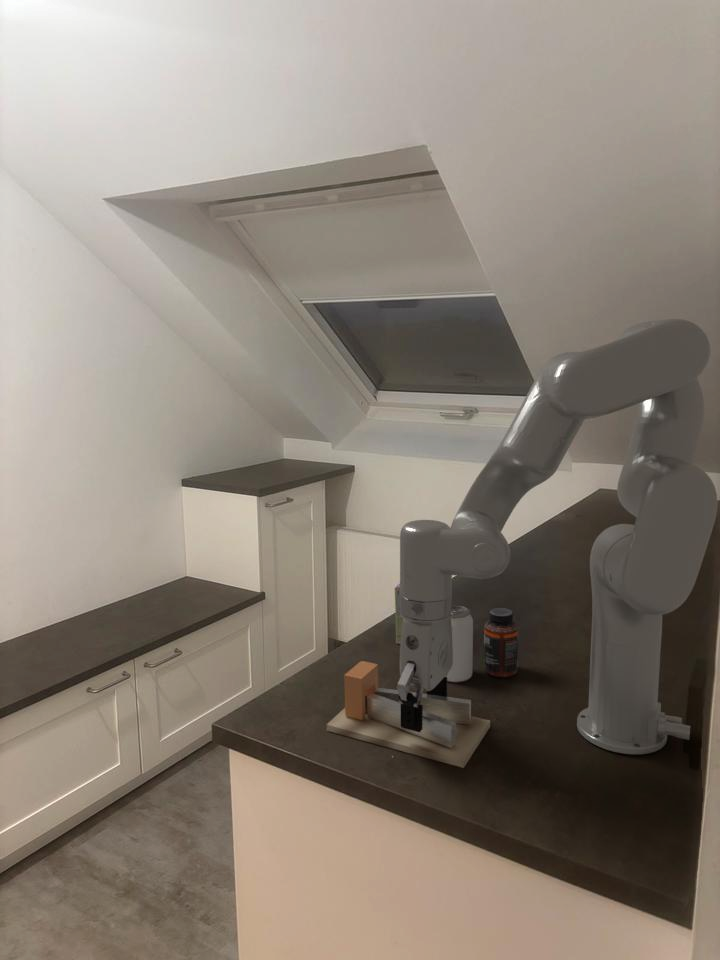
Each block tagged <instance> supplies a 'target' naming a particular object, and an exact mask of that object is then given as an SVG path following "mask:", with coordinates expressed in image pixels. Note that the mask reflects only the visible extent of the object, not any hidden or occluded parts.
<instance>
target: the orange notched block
mask: <svg viewBox="0 0 720 960" xmlns="http://www.w3.org/2000/svg"><path fill="white" fill-rule="evenodd" d="M343 677H344V678H343V679H344V680H343V681H344V682H343V683H344V708H345V716H348V717H352V718H355V719H359V720H363V719H364V718H365V696H368V695H369V694H371V693H373V694H374V690H375V688H376V687H377V688H379V664H377V663H373V662H369V661H363V660H361V661H359V662H358V663H356V664H355V666H353V667H352V668H351V669H350V670H348V671H347V672H346V673H345V674H344V676H343Z"/></svg>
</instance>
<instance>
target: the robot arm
mask: <svg viewBox="0 0 720 960" xmlns="http://www.w3.org/2000/svg"><path fill="white" fill-rule="evenodd" d="M710 356H711V344H710V341H709V339H708V336H707V334H706V333H705V331H704V330H703V329H702V328H701V327H700V326H699V325H697V324H696V323H693V321H690V320H686V319H682V318H681V319H680V318H667V319H660V320H651V321H643V322H639V323H636V324H633V325H631V326H629V327H628V328H626V329H624V330H623V331H622V332H621V333H620V334H619V336H618V337H617V338H616V340H614V341H611V342H608V343H606V344H602V345H600V346H596V347H594V348H590V349H586V350H583V351H568V352H562V353H557V354H556V355H554V356H552V357H551V358H550V359H548V360H547V361H546V362H545V363H544V365H543V366H542V367H541V368H540V370H539V373H538V374H537V375H536V377H535V379H534V381H533V383H532V384H531V386H530V388H529V391H528V392H527V394H526V396H525V397H524V400H523V401H522V403H521V405H520V407H519V409H518V411H517V413H516V414H515V416H514V417H513V418H514V419H513V420H512V422H511V424H510V426H509V427H508V429H507V431H506V433H505V434H504V437H503V438H502V440H501V442H500V444H499V445H498V447H497V449H495V451H494V453H493V454H492V455H491V456H490V458H489V460H488V461H487V463H486V464H485V466H484V467H483V468H482V469H481V471H480V473H479V474H478V475H477V477H476V478H475V480H474V481H473V483H472V485H471V486H470V487H469V490H468V492H467V493H466V495H465V496H464V498H463V501H462V503H461V505H460V507H459V508H458V510H457V512H456V514H455V516H454V518H453V520H452V522H451V524H450V525H448V524H447V523H445V522H442V521H439V520H433V519H416V520H412V521H409V522H407V523H405V524H404V525H403V526H402V527H401V529H400V534H399V584H400V616H401V617H402V618H403V623H402V632H401V644H399V645H400V646H399V647H400V649H399V680H398V682H397V684H396V690H397V691H398V698H399V703H400V704H401V727H402V728H405V729H409V730H413V731H416V732H421V730H422V718H423V705H420V702H421V698H422V694H424V690H426V694H430V695H437V696H445V697H448V682H447V677H445V676H447V674H448V672H449V671H450V669H451V668H452V665H453V648H452V626H451V606H452V603H453V602H452V598H453V597H452V595H453V593H452V592H453V591H452V590H453V589H452V588H453V586H452V585H453V576H457V577H463V578H470V579H477V580H478V579H479V580H486V579H492V578H495V577H498V576H499V575H501V574H502V573H503V572H504V571H505V570H506V569H507V567H508V566H509V563H510V560H511V549H510V546H509V543H508V541H507V539H506V537H505V536H504V534H503V533H502V531H503V529H504V527H505V525H506V523H507V522H508V520H509V518H510V516H511V515H512V513H513V511H514V509H515V508H516V506H517V505H518V503H519V502H520V501H521V500H522V499H523V498H524V496H525V495H527V493H528V492H530V491H531V490H532V489H534V488H536V486H539V485H541V484H543V483H544V482H546V481H548V480H549V479H550V478H551V477H553V476H554V475H555V473H557V470H558V468H559V466H560V464H561V463H562V461H563V459H564V457H565V455H566V454H567V452H568V450H569V449H570V446H571V444H572V443H573V441H574V440H575V438H576V435H577V434H578V432H579V431H580V429H581V428H582V425H583V423H584V421H585V420H590V419H594V418H599V417H600V418H601V417H602V416H603V417H604V416H605V415H609V414H612V413H615V412H618V411H622V410H624V409H627V408H630V407H633V406H636V415H635V416H636V417H635V421H634V427H633V431H632V434H631V438H630V441H629V445H628V449H627V451H626V455H625V458H624V462H623V465H622V468H621V471H620V475H619V476H618V477H619V478H618V482H617V486H616V487H617V488H616V489H617V490H616V492H617V493H616V495H617V498H618V501H619V502H620V505H621V507H623V508H624V509H625V510H626V511H627V513H629V514H631V515H632V516H634V517H635V523H634V524H629V523H619V524H615V525H612V526H608V527H607V528H605V529H604V530H603V531H602V532H601V533H600V534H599V535H597V537H596V538H595V540H594V542H593V544H592V547H591V551H590V556H589V573H590V583H591V595H592V596H591V597H592V598H591V599H592V600H591V602H592V608H591V609H592V611H591V612H592V616H591V617H592V618H591V631H590V632H591V633H590V634H591V635H590V637H591V638H590V639H591V640H590V660H589V680H588V681H589V682H588V683H589V687H588V707H586V708H584V709H583V710H581V711H580V712H579V713H578V715H577V718H576V727H577V730H578V732H579V733H580V735H581V736H583V738H584V739H585V740H587V741H588V742H589V743H591V744H593V745H595V746H597V747H599V748H602V749H604V750H606V751H611V752H614V753H618V754H619V753H620V754H624V755H646V754H648V755H649V754H652V753H655V752H657V751H659V750H661V749H663V747H665V746H666V744H667V740H668V736H672V737H675V738H678V739H683V740H688V741H690V738H691V737H690V735H691V725H689V724H688V725H687V724H683V717H680V716H676V715H675V716H674V715H668V714H665V712H663V711H661V708H662V704H661V702H658V698H659V684H660V682H659V679H660V665H661V648H662V638H663V637H662V636H663V615H667V614H670V613H672V612H674V611H675V610H677V609H678V608H680V607H681V606H682V605H683V603H685V602H686V600H687V599H688V598H689V596H690V594H691V592H692V591H693V589H694V586H695V584H696V581H697V578H698V576H699V572H700V569H701V567H702V563H703V561H704V557H705V554H706V551H707V548H708V544H709V541H710V538H711V535H712V531H713V528H714V525H715V522H716V517H717V513H718V493H717V489H716V486H715V483H714V482H713V480H712V478H711V477H710V476H709V474H708V473H707V472H705V471H704V470H703V469H702V468H700V467H699V466H697V465H695V464H694V462H695V457H696V455H697V454H696V453H697V451H698V447H699V441H700V437H701V433H702V429H703V424H704V419H705V401H704V395H703V391H702V388H701V385H700V382H699V379H698V377H699V376H700V375H702V373H703V372H704V370H705V369H706V368H707V365H708V363H709V359H710ZM413 680H414V681H417V682H418V683H416V682H413ZM410 688H411V689H414V690H416V692H415V693H416V696H415V697H414V695H413V694H412V693H410V692H411V691H410V690H411V689H410Z"/></svg>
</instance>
